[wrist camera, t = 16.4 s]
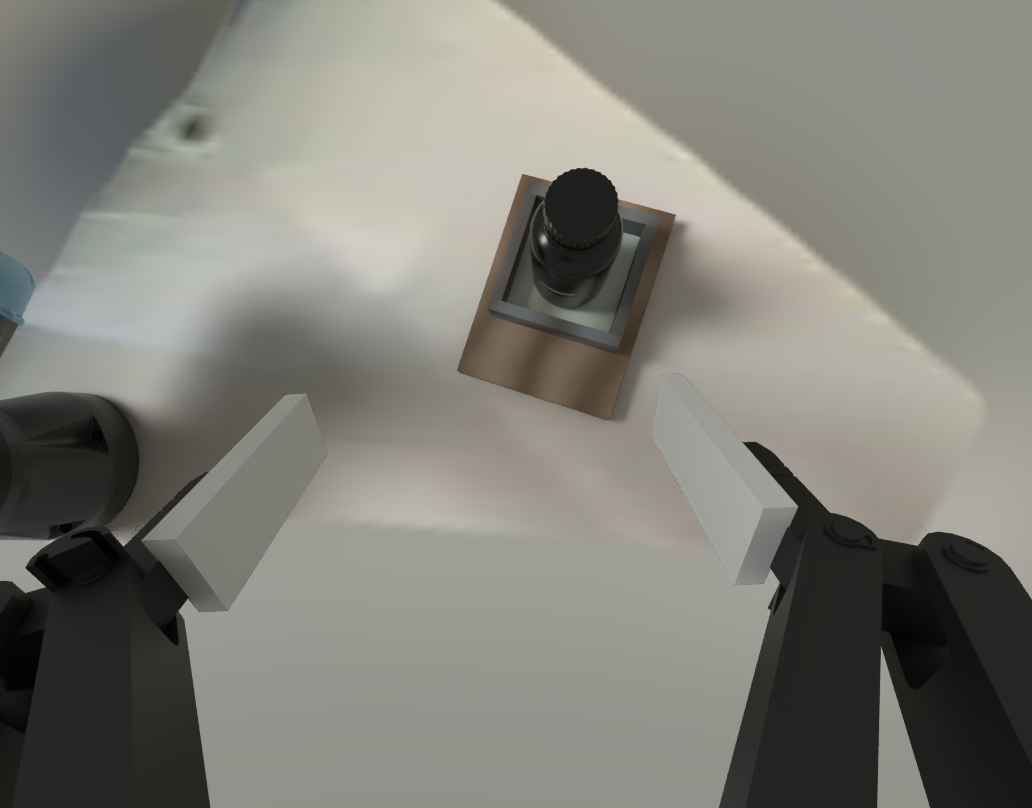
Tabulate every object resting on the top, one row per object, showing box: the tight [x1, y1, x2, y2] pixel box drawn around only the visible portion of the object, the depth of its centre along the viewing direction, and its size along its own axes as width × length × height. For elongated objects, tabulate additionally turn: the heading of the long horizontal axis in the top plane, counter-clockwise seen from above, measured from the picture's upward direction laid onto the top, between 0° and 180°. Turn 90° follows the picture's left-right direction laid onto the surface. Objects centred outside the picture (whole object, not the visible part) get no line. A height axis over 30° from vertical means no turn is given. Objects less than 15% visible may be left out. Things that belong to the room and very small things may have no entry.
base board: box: [457, 174, 676, 420], centre depth 36 cm, size 15×20×4 cm
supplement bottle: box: [530, 168, 623, 308], centre depth 30 cm, size 7×7×12 cm
